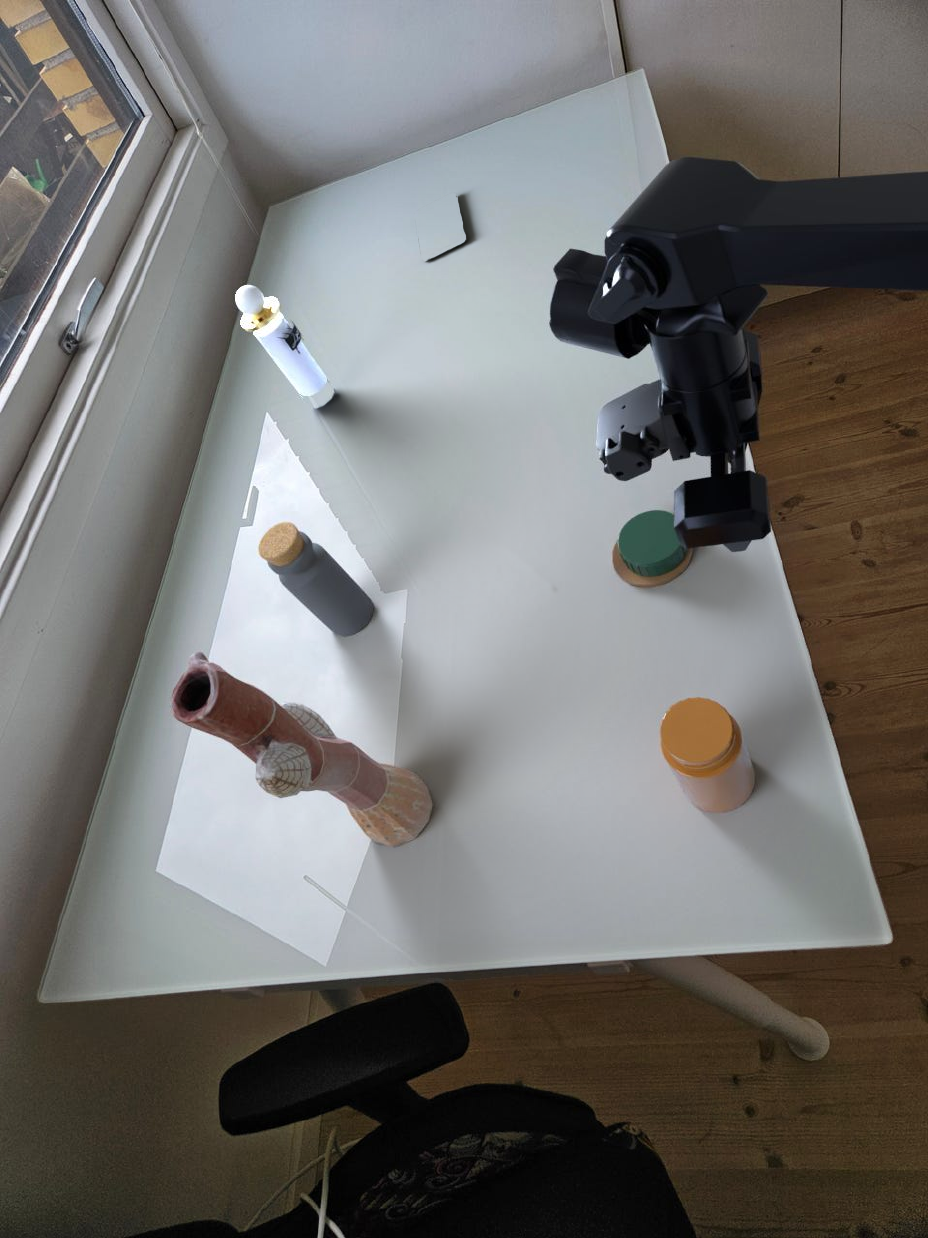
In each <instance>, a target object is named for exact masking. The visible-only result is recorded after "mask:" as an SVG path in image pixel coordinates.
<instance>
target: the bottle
mask: <svg viewBox="0 0 928 1238" xmlns="http://www.w3.org/2000/svg"><path fill="white" fill-rule="evenodd" d="M257 550H258V551H257V552H258V554H259V556H260V557H261V558H262V559H263V560H265V561H266V562H267V565H268V567H269V568H270V570H271V571H272V572H273V573H275V574H276V575H278V579H279V582H280V583H281V585H283V587H284V588H285V589H286V590H287V591H288V592H289V593H290V594H291V595H293V596H294V597H295V598H296V599H297V600H298V601H299V602H300V603H301V604H302V605H303V606H304V607H305V609H307V610H309V612H310V613H312V615H314V616H315V617H316V618H317V619H318V621H320V622H321V623H322V624H323V625H324V626H326V627H327V629H328V630H330V631H331V632H332V633H333V634H335V635H337V636H338V637H339V636H340V637H350V636H353V635H356V634H357V633H359V632H360V631H362V630H363V629H364V628H365V627H366V626H367V625H368V624H369V621H370V620H371V619H372V616H373V612H374V604H373V601H372V599H371V598H370V597H369V595H368V594H367V593H366V592H365V591H364V589H362V587H361V586H360V585H359V584H358V583H357V582H356V581H355V580H354V579H353V578H352V577H351V576H350V575H349V573H348V572H347V571H346V570H345V569H344V568H343V567H342V566H341V565H340V564H339V562H337V560H335V558H334V557H333V556H332V555H331V554H330V553H329V552H328V551H327V550H326V549H325V548H324V547H323V546H322V545H320V544H319V543H316V542H313V541H312V539H311V538H310V536H309V535H308V534H306V533H305V532H304V531H301V530H299V529H298V527H297V525H295V524H294V523H293V522H290V521H283V522H279V523H277V524H275V525H273V526H271V527H269V529H268V530H267V531H265V533H264V534H263V535H262V537H261V539H260V541H259V542H258V547H257Z"/></svg>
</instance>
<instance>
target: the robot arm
mask: <svg viewBox="0 0 928 1238" xmlns="http://www.w3.org/2000/svg"><path fill="white" fill-rule="evenodd" d="M603 247H604V255H601V254H594V253H590V252H588V251H585V250H582V249H577V248H569V249H568V250H567V251H566V252H565V254H564V255H563V256H562V257H561V258H560V259H559V260H558V261H557V262H556V264H554V266H553V267H552V269H553V270H552V271H553V273H554V275H555V278H556V282H555V285H554V287H553V290H552V293H551V298H550V304H549V318H550V319H549V321H548V323H549V324H548V325H549V328H550V331H551V332H552V334H553V336H554V337H555V338H556V340H558V341H559V342H562V343H564V344H568V345H571V346H575V347H579V348H583V349H588V350H591V351H596V352H599V353H604V354H606V355H607V354H608V355H612V356H614V357H615V356H616V357H618V358H619V357H620V358H622V359H628V360H629V359H631V358H632V357H633V358H634V357H635V356H637V355H638V354H640V353H641V352H642V351H643V350H644V349H646V348H647V346H648V345H649V346H650V349H651V352H652V355H653V359H654V363H655V365H656V368H657V372H658V375H659V379H658V380H655V381H652V382H650V383H643V384H641V385H639V386H637V387H635V388H633V389H631V390H629V391H628V392H626V393H624V394H622V395H620V396H618V397H617V398H614V399H612V400H611V401H609V402H607V403H606V404H605V405H604V406H602V408H601V410H600V411H599V412H598V416H597V428H596V439H595V447H596V450H598V451H599V456H598V459H599V460H600V461H601V462H602V464H603V471H604V473H605V474H607V475H612V477H614V478H615V479H616V480H617V481H621V482H629V481H630V480H633V479H634V478H637V477H639V476H641V475H644V474H646V473H648V472H650V471H651V469H652V465H653V460H655V459H656V458H658V457H660V456H662V455H664V454H665V453H666V452H668V451H669V454H670V456H671V460H672V462H675V461H681V460H686V459H690V458H691V454H693V453H695V455H696V456H699V457H706V458H707V457H709V459H710V476H706V477H700V478H693V479H688V480H683V482H682V483H681V484H680V485H679V486H678V487H677V488H676V489H675V490H673V491H674V493H673V514H674V530H675V533H676V536H677V539H678V542H679V544H681V545H682V546H683V547H685V548H686V549H690V548H693V549H697V548H698V549H699V548H705V547H714V546H720V545H723V546H724V547H725V548H726V549H728V550H729V551H730V552H731V553H738V552H744V551H746V550H747V549H748V547H749V546H750V544H751V542H752V541H760V540H764V539H765V538H766V537H767V536H768V535H770V533H771V532H772V521H771V505H770V504H771V503H770V496H769V495H770V494H769V488H768V481H767V476H766V475H763V474H761V473H758V472H756V471H754V470H751V469H748V470H747V463H746V460H747V459H746V451H747V448H748V444H750V443H754V442H755V443H756V442H759V441H760V440H761V438H760V423H759V422H760V420H759V405H760V401H761V398H762V395H763V379H762V377H763V367H762V352H761V346H760V340H759V335H758V334H756V333H754V332H751V331H750V330H747V329H745V328H744V326H745V325H746V324H748V322H749V321H750V319H751V318H752V317H753V315H754V314H755V313H756V312H757V311H758V309H759V308H760V307H761V306H762V304H764V302H765V301H766V299H767V298H768V296H769V291H768V289H766V287H765V286H783V287H784V286H785V287H811V288H813V287H814V288H815V287H816V288H836V289H837V288H838V289H840V288H841V289H864V290H865V289H866V290H890V291H891V290H892V291H893V290H894V291H896V290H897V291H919V292H921V291H922V292H928V171H927V170H925V171H912V172H898V173H883V174H868V175H854V176H853V175H852V176H839V177H823V178H822V177H821V178H809V179H807V178H806V179H794V180H773V179H772V180H771V179H761V178H759V177H758V176H757V175H756V174H755V173H753V172H752V171H751V170H749V169H748V168H747V167H746V166H745V165H744V164H742V162H738V161H735V160H728V159H727V160H726V159H718V158H717V159H716V158H706V157H696V156H683V157H678V158H676V159H672V160H671V161H669V162H668V163H667V164H666V165H664V167H663V168H662V169H661V170H660V172H658V174H657V175H656V176H655V177H654V178H653V179H652V180H651V182H650V183H648V185H647V186H646V187H645V188H644V190H643V191H642V192H641V193H640V194H639V195H638V196H637V198H636V199H635V200H634V201H633V202H632V203H631V204H630V205H629V207H628V208H626V210H624V212H623V214H621V215H620V217H619V218H618V219H617V220H616V221H615V222H614V224H612V226H611V227H610V228H609V229H608V230H607V231H606V235H605V238H604V246H603ZM729 465H730V473H729Z"/></svg>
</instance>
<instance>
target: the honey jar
mask: <svg viewBox="0 0 928 1238" xmlns="http://www.w3.org/2000/svg"><path fill="white" fill-rule="evenodd" d="M659 734H660V749H661V753H662V756H663V758H664V760H665V761H666V763H667V765H668V767H669V769H670V771H671V772H672V775H673V776H674V778H675V779H676V781H677V783H678V785H679V787H680V789H681V790H682V793H683V794H684V796H685V797H686V799H687V800H688V801H689V802H690V803H691V804H692V805H694V806H695V807H696V808H698V809H700V810H701V811H705V812H709V813H721V814H722V813H728V812H730V811H734V810H735V809H738V808H739V807H741V806H742V805H743V804H744V803H746V802H747V801H748V800H749V798H750V797H751V795H752V793H753V791H754V788H755V783H756V782H755V781H756V771H755V768H754V765H753V763H752V761H751V760H752V759H751V756H750V754H749V751H748V748H747V744H746V742H745V739H744V737H743V734H742V730H741V728H740V726H739V723H738V722H737V720H736V719H735V718H734V717H733V716H732V714H730V712H729V711H728V710H727V708H725V707H724V706H723V705H721V704H720V703H719V702H717V701H715V700H712V699H710V698H706V697H699V696H698V697H697V696H696V697H688V698H686V699H682V700H679V701H677V702H675V703H673V704H671V706H670V707H669V708H668V709H667V710H666V711H665V715H663V718H662V720H661V724H660V728H659Z"/></svg>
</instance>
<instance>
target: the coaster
mask: <svg viewBox="0 0 928 1238" xmlns="http://www.w3.org/2000/svg"><path fill="white" fill-rule="evenodd" d="M693 550H694V548H690V549H688V551H687V554H686V556H685V558H684V560H683V561H682V563H680V565H679V566H677V567H676V568H675V569H674V570H672V571H670V572H668V573H666V574H663V575H661V576H655V577H646V576H641V575H638V574H636V573H633V572H632V571H631V570H630V569H628V568H627V566H626V564H625V563H624V562H623V559H622V557H621V555H620V550H619V548H618V539H617V540H616V541H615V543H614V545H613V548H612V551H611V563H612V567H613V569H614V571H615V573H616V575H617V577H619V579H621V580H622V581H623V582H625V583H627V584H628V585H630V586H634V587H637V588H655V587H660V586H662V585H665V584H668V583H669V582H672V581H673V580H675V579H676V578H678V577H679V576H680V575H681V574H682V573H683V572H684V571H685V570H686V568H687V567H688V566H689V564H690V562H691V559H692V557H693Z"/></svg>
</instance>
